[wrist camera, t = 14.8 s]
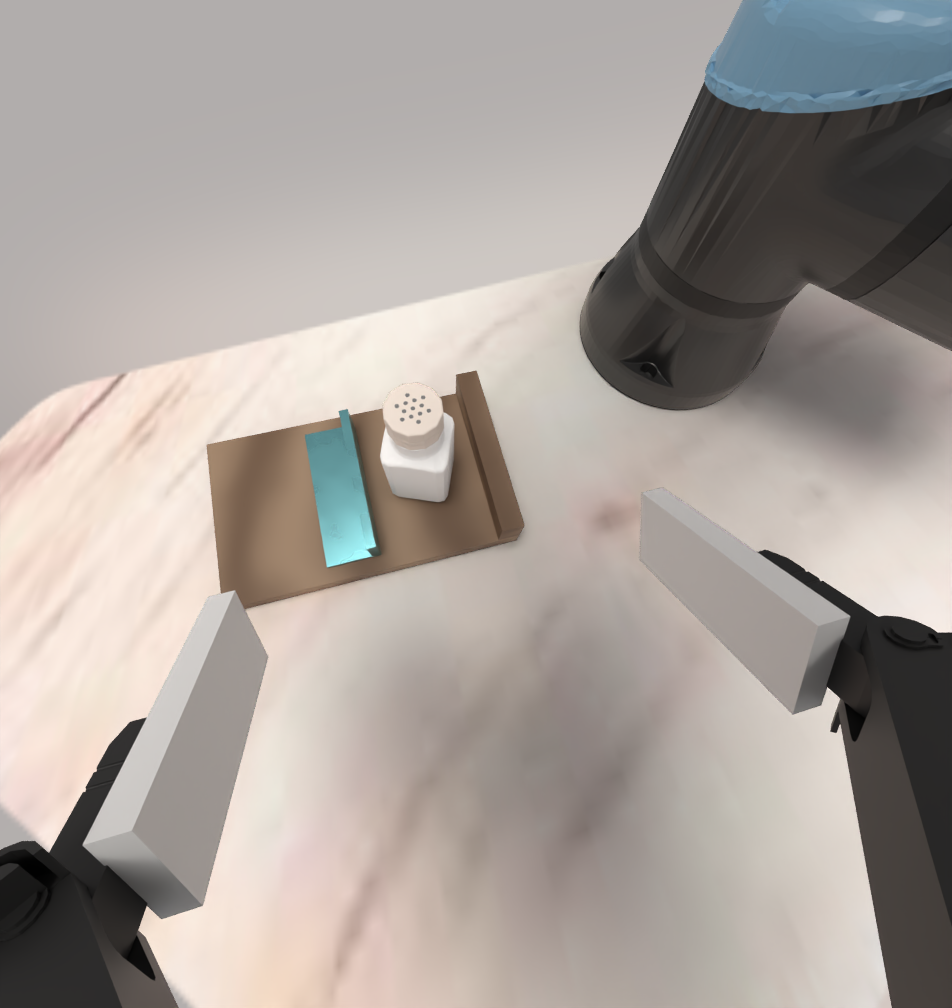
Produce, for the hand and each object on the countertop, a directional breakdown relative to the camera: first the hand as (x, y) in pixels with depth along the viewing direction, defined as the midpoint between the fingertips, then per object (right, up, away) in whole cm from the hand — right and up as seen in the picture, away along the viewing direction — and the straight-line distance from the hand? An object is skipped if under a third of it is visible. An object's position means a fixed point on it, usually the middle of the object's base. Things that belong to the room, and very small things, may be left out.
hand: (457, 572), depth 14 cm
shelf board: (-8, +3, +19) cm, 20 cm away
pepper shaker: (-3, +4, +18) cm, 19 cm away
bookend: (-9, +3, +17) cm, 19 cm away
